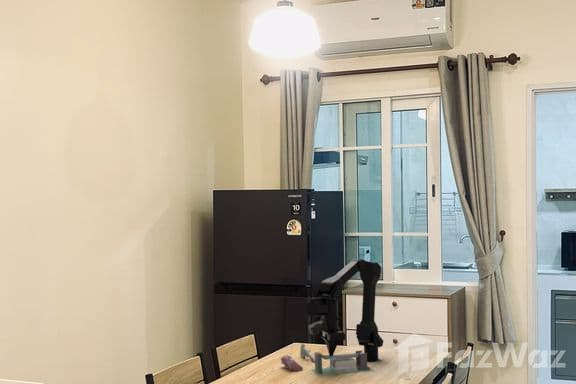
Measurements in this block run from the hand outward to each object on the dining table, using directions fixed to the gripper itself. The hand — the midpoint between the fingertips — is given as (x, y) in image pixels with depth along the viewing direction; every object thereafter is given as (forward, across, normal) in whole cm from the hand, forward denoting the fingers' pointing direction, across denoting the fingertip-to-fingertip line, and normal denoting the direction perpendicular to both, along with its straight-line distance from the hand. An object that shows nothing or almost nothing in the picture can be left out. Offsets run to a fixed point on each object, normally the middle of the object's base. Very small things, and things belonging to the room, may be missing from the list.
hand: (330, 355), depth 254 cm
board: (+6, 0, +4) cm, 7 cm away
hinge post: (+5, 0, +12) cm, 13 cm away
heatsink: (+6, 0, +5) cm, 7 cm away
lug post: (+6, 0, -5) cm, 8 cm away
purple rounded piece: (+7, -9, -13) cm, 18 cm away
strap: (+1, 0, +5) cm, 5 cm away
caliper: (+7, -20, -2) cm, 21 cm away
